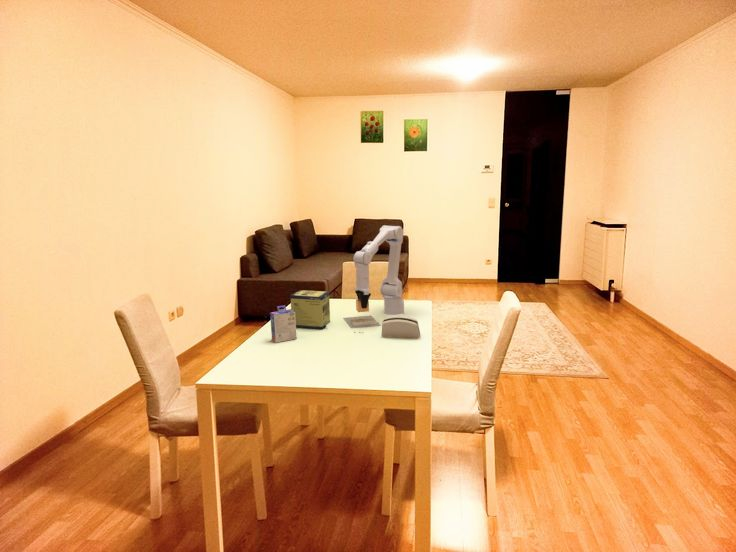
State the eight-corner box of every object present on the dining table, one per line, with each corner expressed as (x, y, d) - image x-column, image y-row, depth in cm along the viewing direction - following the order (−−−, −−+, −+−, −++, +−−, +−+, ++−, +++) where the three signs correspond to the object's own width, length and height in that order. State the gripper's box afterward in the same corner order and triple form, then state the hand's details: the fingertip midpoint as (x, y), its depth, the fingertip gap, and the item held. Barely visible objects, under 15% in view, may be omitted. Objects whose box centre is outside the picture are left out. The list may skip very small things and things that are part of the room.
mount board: (371, 317, 250) (371, 315, 250) (381, 327, 233) (380, 325, 233) (342, 319, 247) (342, 317, 247) (350, 330, 230) (350, 328, 230)
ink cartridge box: (292, 335, 224) (290, 303, 221) (297, 339, 219) (296, 306, 216) (270, 339, 219) (269, 306, 216) (275, 343, 214) (273, 309, 211)
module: (366, 309, 238) (366, 297, 237) (369, 311, 234) (368, 299, 233) (356, 310, 237) (355, 298, 236) (358, 312, 233) (357, 300, 232)
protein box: (323, 330, 231) (321, 296, 228) (291, 327, 236) (289, 294, 233) (330, 323, 241) (329, 291, 238) (300, 321, 246) (298, 289, 243)
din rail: (373, 321, 241) (373, 317, 240) (376, 325, 234) (376, 321, 234) (350, 322, 238) (350, 319, 238) (353, 327, 232) (353, 323, 231)
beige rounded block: (420, 334, 223) (420, 315, 218) (419, 340, 219) (419, 321, 214) (382, 332, 226) (381, 313, 221) (381, 339, 222) (379, 320, 217)
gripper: (350, 275, 238) (351, 303, 241) (357, 281, 225) (357, 311, 227) (365, 274, 240) (365, 302, 243) (373, 280, 226) (373, 310, 229)
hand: (363, 306), depth 235 cm, fingers closed on module, 4 cm apart
